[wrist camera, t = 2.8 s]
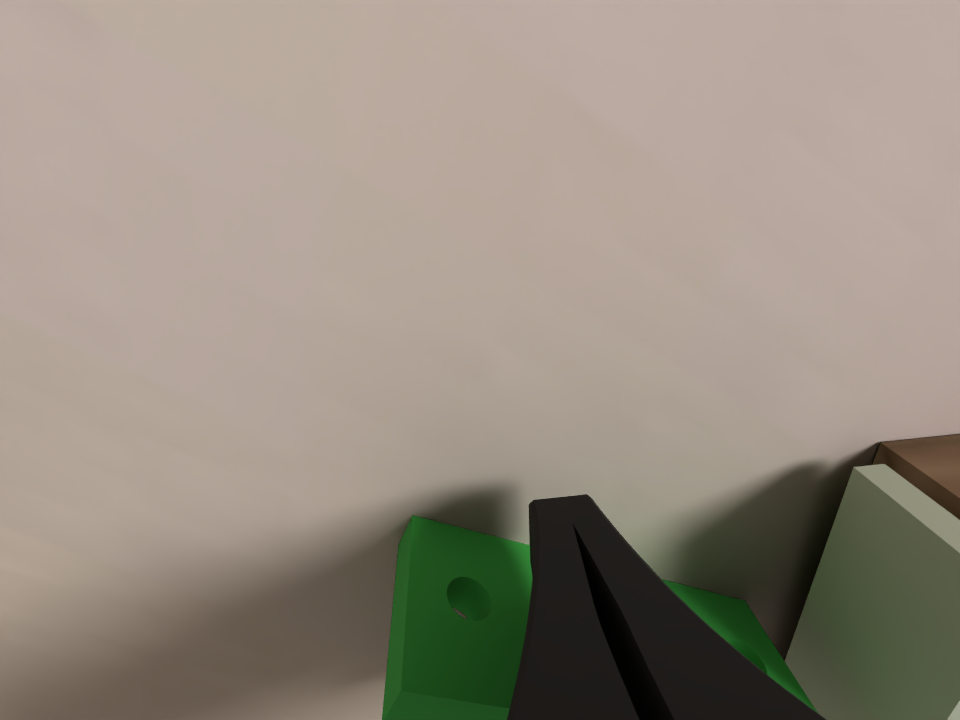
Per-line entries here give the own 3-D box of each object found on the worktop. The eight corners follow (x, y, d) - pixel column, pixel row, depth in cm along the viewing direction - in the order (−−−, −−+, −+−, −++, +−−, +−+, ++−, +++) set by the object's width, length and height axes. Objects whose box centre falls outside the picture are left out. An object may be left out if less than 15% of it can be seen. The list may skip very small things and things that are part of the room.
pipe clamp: (370, 599, 14) (339, 794, 10) (412, 507, 13) (397, 690, 9) (680, 666, 17) (758, 843, 12) (744, 596, 15) (856, 769, 11)
